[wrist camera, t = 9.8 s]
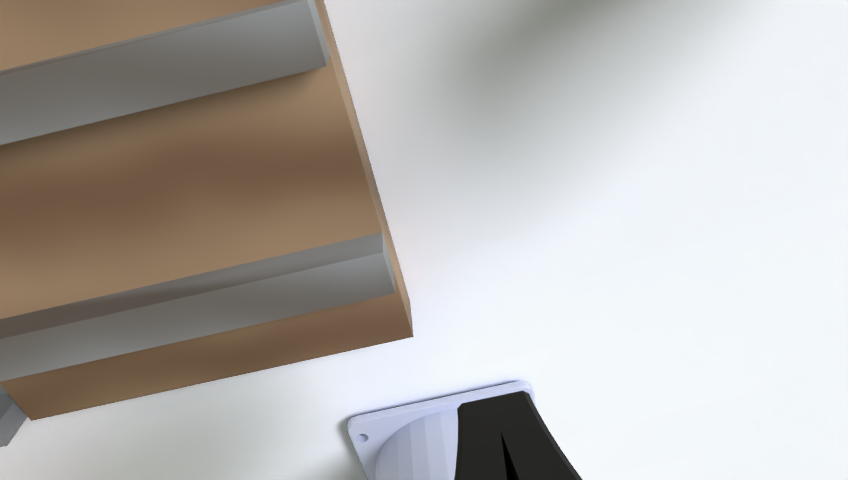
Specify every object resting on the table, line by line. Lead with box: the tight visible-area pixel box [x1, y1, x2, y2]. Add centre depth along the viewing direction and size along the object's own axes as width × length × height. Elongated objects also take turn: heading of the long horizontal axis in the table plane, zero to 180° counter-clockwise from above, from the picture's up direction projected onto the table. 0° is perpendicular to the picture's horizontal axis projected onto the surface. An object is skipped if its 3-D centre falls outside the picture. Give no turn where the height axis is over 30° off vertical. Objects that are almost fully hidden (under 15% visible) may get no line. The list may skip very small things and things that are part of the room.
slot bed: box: [0, 0, 413, 421], centre depth 16 cm, size 14×14×3 cm
